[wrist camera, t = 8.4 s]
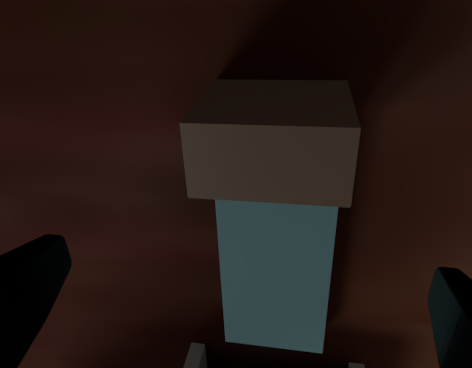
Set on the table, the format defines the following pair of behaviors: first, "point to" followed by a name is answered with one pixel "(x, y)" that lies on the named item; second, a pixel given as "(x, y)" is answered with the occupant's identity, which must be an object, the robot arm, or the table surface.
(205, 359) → the sleeve box
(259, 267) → the cover plate
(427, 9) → the table surface
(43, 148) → the table surface
